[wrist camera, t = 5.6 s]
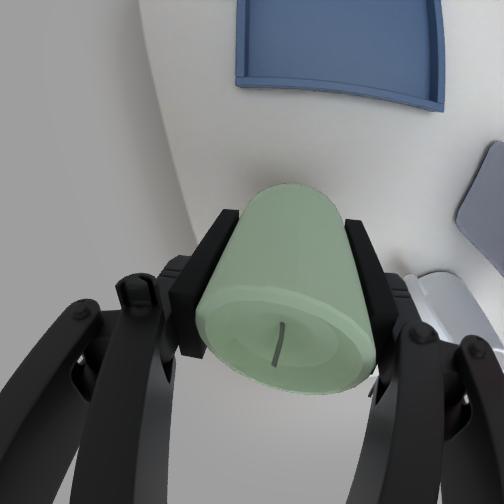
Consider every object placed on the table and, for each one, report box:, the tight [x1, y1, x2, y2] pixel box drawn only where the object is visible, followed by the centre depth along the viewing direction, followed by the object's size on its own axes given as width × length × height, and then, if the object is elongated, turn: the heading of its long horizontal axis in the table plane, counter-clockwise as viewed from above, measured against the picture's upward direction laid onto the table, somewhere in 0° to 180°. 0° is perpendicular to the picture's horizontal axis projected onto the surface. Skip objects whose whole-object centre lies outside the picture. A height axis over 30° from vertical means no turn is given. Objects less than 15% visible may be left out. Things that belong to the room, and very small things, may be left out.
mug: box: [403, 272, 504, 403], centre depth 19 cm, size 12×8×10 cm
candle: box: [195, 183, 376, 395], centre depth 10 cm, size 5×5×8 cm
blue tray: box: [235, 0, 445, 112], centre depth 13 cm, size 14×14×2 cm
